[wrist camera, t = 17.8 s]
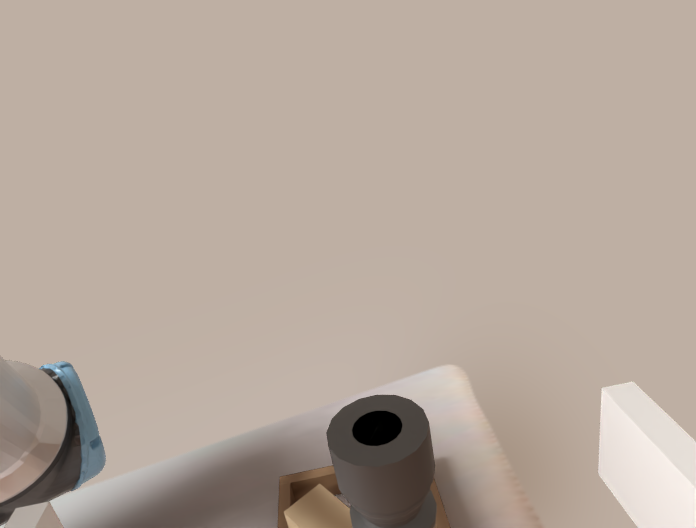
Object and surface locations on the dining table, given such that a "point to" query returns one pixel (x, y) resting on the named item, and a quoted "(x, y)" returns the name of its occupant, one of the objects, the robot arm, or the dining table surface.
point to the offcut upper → (318, 511)
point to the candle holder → (384, 462)
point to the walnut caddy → (304, 482)
